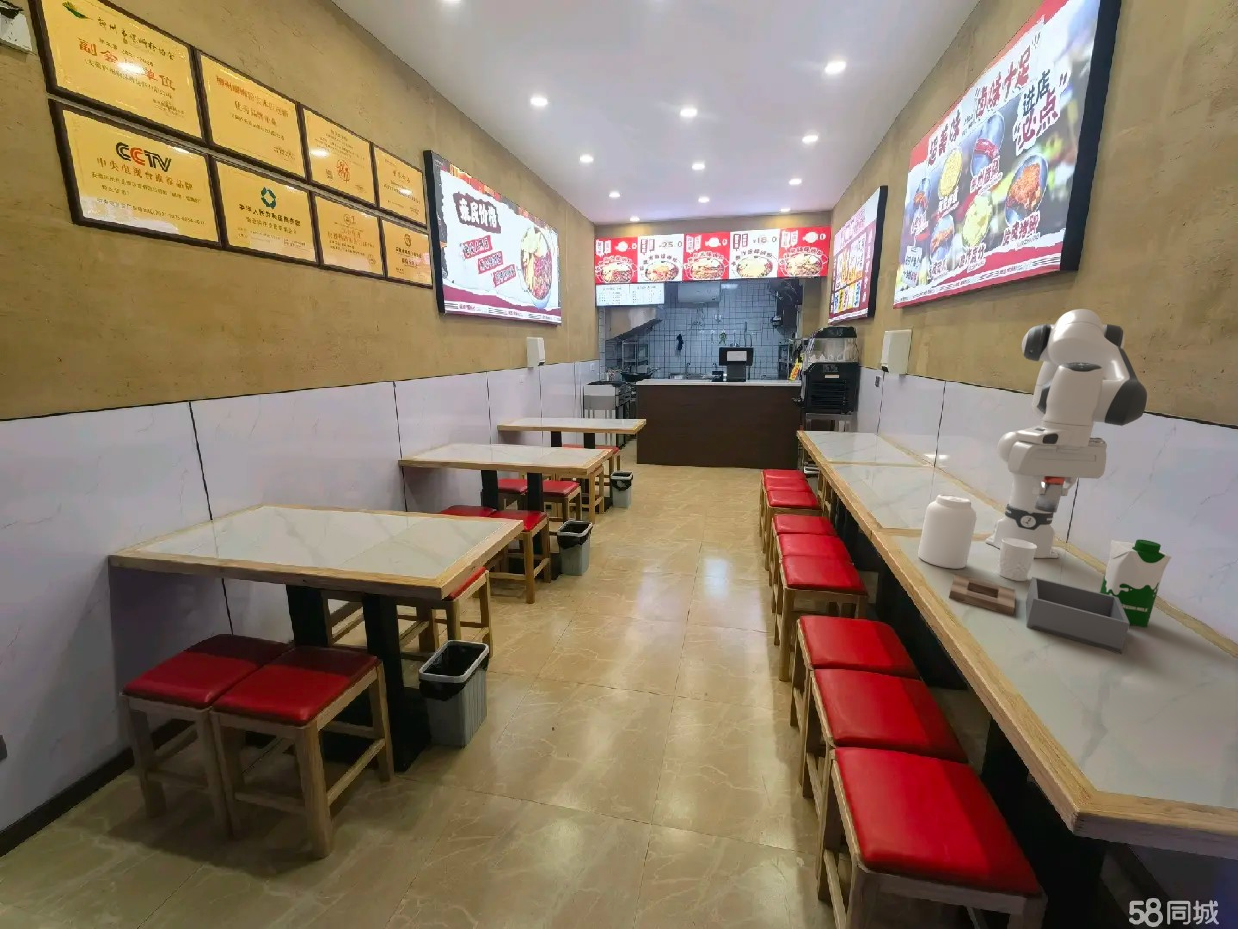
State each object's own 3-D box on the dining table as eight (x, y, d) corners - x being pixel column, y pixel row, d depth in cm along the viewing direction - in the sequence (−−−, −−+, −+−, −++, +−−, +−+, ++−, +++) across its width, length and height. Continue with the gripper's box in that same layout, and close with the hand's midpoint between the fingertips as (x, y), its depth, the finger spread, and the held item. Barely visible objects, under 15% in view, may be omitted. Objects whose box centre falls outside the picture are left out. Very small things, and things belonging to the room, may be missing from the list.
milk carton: (1107, 622, 121) (1130, 542, 117) (1087, 605, 130) (1108, 530, 125) (1154, 630, 119) (1180, 549, 114) (1131, 612, 127) (1154, 536, 123)
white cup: (1035, 584, 141) (1043, 550, 139) (1003, 580, 142) (1011, 546, 140) (1019, 572, 148) (1027, 539, 146) (989, 568, 150) (996, 536, 148)
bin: (1025, 602, 129) (1032, 576, 128) (1110, 624, 120) (1118, 597, 119) (1026, 626, 117) (1033, 598, 116) (1120, 653, 108) (1129, 623, 106)
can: (970, 573, 146) (985, 506, 141) (920, 564, 150) (933, 499, 146) (960, 557, 157) (973, 495, 153) (914, 550, 162) (926, 489, 157)
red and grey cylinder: (1046, 507, 121) (1054, 474, 120) (1061, 512, 117) (1069, 479, 116) (1030, 506, 121) (1038, 474, 119) (1044, 512, 117) (1052, 478, 116)
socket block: (953, 581, 140) (955, 574, 139) (1013, 596, 132) (1014, 589, 132) (948, 597, 130) (950, 590, 129) (1012, 615, 122) (1014, 607, 122)
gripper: (1094, 435, 119) (1080, 493, 122) (1009, 431, 118) (997, 489, 121) (1121, 440, 113) (1105, 500, 116) (1032, 436, 112) (1018, 496, 115)
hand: (1049, 494), depth 119 cm, fingers closed on red and grey cylinder, 4 cm apart
